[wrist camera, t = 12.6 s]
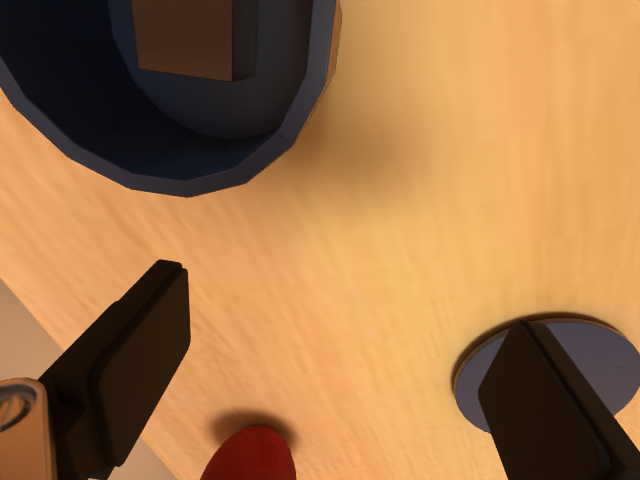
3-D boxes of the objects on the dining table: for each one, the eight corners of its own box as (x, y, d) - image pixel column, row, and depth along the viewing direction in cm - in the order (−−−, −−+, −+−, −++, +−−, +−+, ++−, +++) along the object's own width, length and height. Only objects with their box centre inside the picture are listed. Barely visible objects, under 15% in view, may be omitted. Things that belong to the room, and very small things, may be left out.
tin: (75, -161, 16) (-156, -338, 9) (360, -121, 16) (369, -267, 9) (119, 132, 23) (8, 171, 15) (323, 162, 23) (310, 216, 15)
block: (173, -30, 18) (123, -53, 14) (258, -18, 18) (232, -37, 14) (179, 66, 20) (137, 69, 16) (255, 77, 20) (232, 83, 16)
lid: (484, 299, 27) (520, 364, 21) (671, 327, 27) (756, 400, 21) (432, 416, 34) (448, 488, 28) (580, 438, 34) (625, 515, 28)
